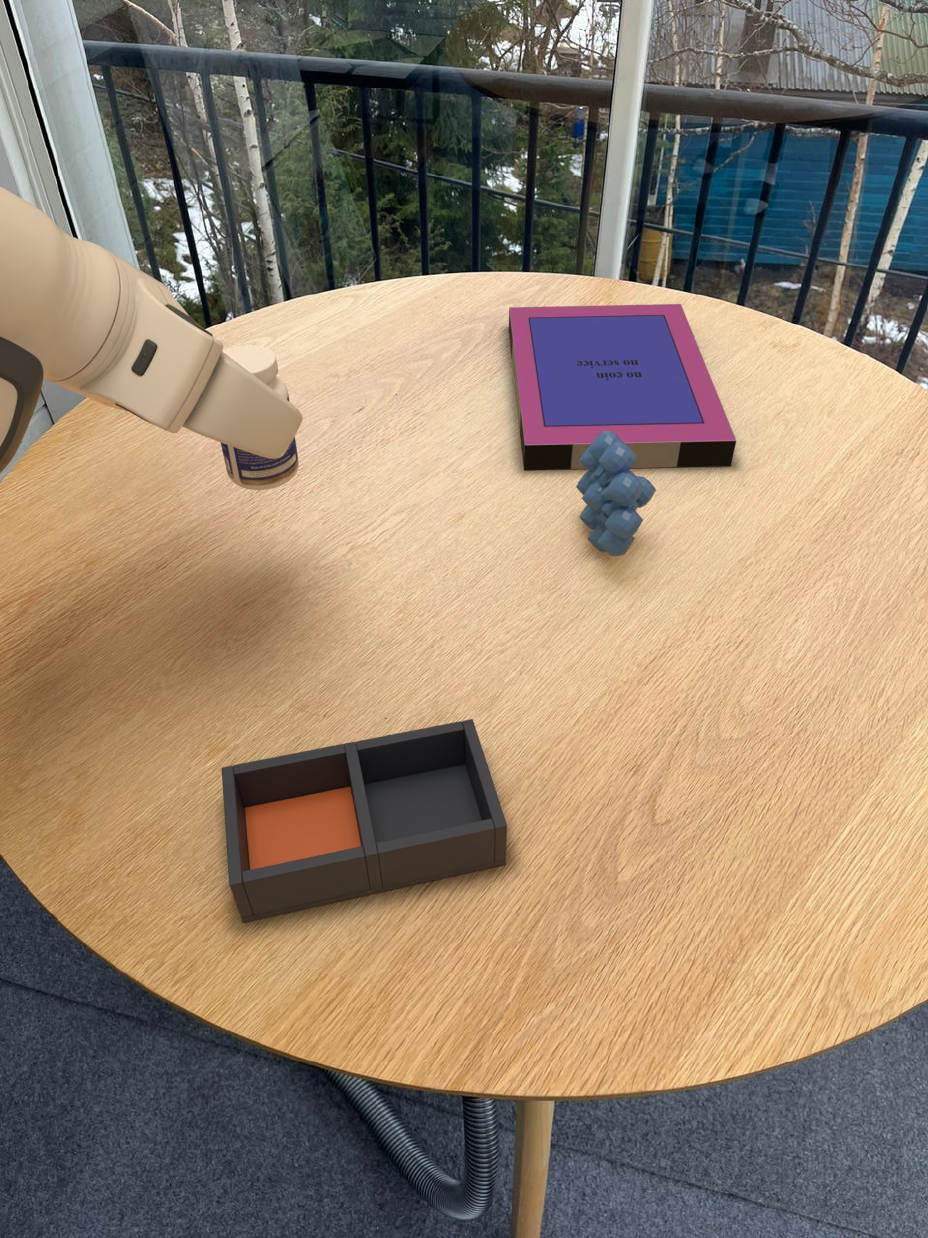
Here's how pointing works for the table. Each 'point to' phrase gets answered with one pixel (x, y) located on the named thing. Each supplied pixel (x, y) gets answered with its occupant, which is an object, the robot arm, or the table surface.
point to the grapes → (612, 494)
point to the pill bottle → (249, 466)
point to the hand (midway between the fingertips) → (260, 410)
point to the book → (614, 386)
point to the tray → (360, 819)
